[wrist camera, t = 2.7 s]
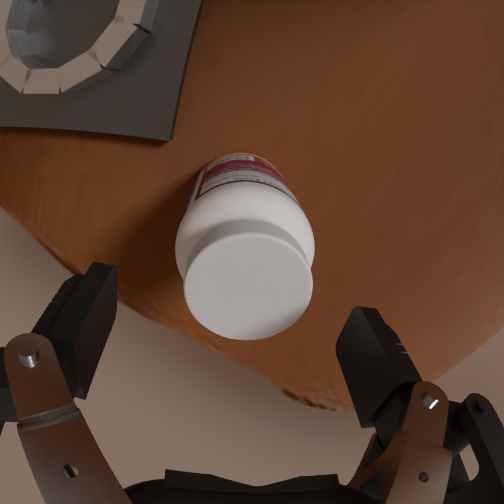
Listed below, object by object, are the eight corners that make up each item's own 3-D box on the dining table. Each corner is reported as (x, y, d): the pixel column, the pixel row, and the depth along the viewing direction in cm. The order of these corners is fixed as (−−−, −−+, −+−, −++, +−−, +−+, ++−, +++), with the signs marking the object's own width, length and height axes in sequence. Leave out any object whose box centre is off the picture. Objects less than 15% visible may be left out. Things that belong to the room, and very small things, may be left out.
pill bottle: (247, 255, 23) (258, 374, 14) (175, 205, 21) (131, 307, 12) (306, 189, 21) (365, 278, 11) (232, 130, 19) (230, 173, 9)
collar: (229, -77, 12) (229, -102, 9) (172, 138, 19) (160, 148, 16) (27, -61, 10) (5, -73, 6) (-16, 124, 17) (-44, 133, 14)
